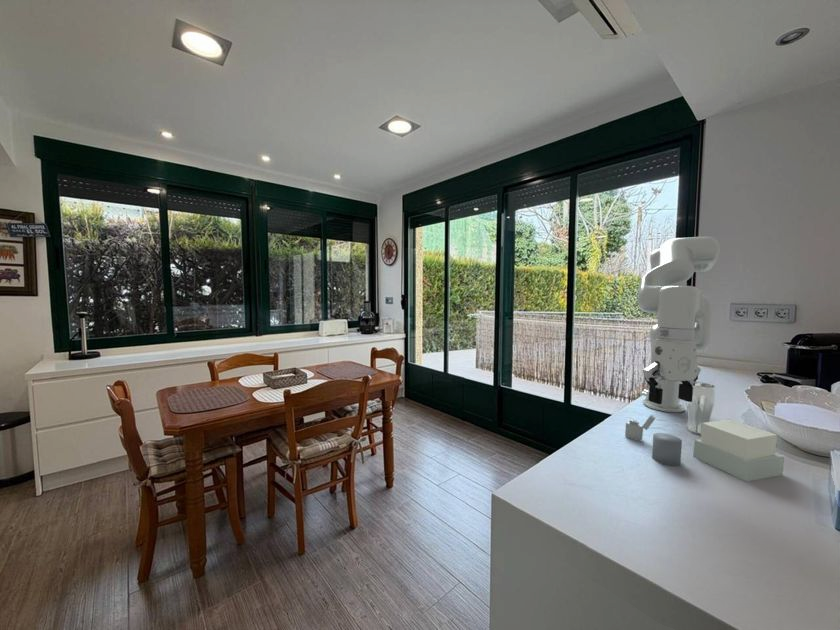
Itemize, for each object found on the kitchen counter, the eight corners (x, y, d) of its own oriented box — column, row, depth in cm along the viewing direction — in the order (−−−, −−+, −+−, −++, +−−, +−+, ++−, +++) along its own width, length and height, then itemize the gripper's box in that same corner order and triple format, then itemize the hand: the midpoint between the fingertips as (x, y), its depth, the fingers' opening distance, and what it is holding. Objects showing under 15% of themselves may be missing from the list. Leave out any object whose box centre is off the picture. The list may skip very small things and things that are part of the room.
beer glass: (701, 427, 110) (705, 381, 108) (718, 436, 103) (722, 388, 102) (678, 426, 110) (681, 381, 109) (693, 435, 103) (697, 387, 102)
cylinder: (646, 456, 90) (647, 434, 90) (664, 453, 92) (665, 431, 91) (668, 467, 85) (669, 444, 84) (686, 464, 86) (687, 441, 86)
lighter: (624, 436, 102) (626, 411, 101) (626, 435, 103) (628, 409, 103) (653, 444, 97) (654, 417, 96) (654, 442, 98) (656, 415, 98)
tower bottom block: (693, 457, 90) (694, 439, 90) (726, 452, 93) (728, 435, 93) (746, 482, 79) (748, 462, 78) (782, 476, 82) (784, 456, 81)
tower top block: (700, 441, 89) (702, 422, 89) (728, 437, 92) (729, 419, 91) (745, 460, 79) (747, 439, 79) (775, 454, 82) (777, 434, 82)
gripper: (661, 337, 80) (656, 408, 81) (716, 336, 84) (711, 404, 85) (634, 333, 87) (630, 398, 88) (686, 332, 91) (681, 395, 92)
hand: (670, 401), depth 87 cm, fingers open, 9 cm apart
